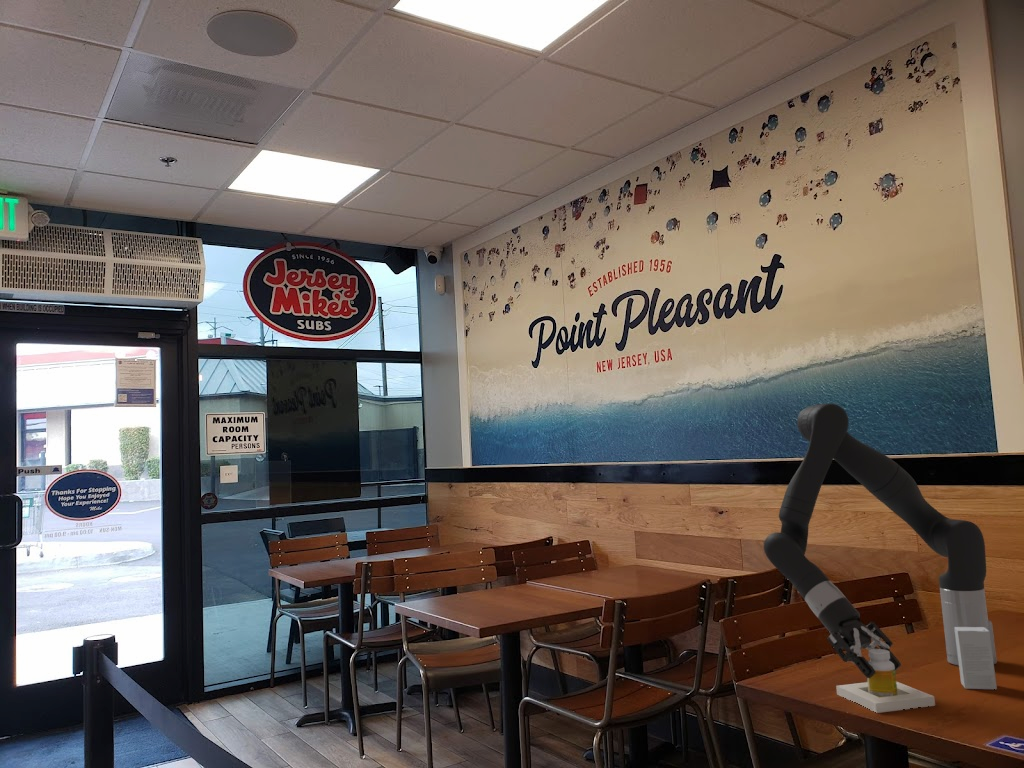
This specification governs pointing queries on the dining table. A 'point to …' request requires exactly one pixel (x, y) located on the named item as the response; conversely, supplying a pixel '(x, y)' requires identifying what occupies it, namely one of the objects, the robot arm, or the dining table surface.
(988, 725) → the dining table surface
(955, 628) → the skincare box
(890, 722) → the dining table surface
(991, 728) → the dining table surface
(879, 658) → the supplement bottle
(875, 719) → the dining table surface
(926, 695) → the hole plate
